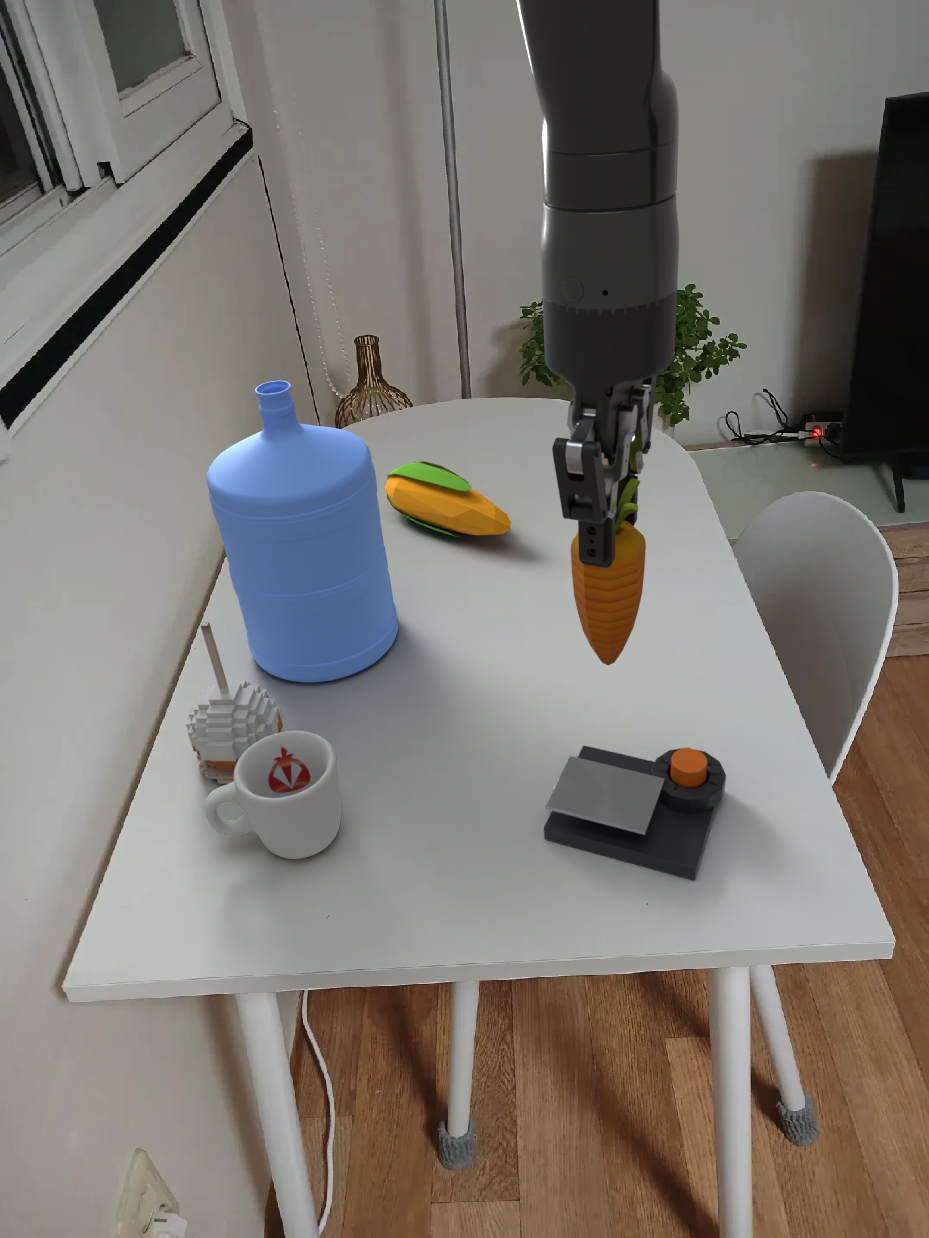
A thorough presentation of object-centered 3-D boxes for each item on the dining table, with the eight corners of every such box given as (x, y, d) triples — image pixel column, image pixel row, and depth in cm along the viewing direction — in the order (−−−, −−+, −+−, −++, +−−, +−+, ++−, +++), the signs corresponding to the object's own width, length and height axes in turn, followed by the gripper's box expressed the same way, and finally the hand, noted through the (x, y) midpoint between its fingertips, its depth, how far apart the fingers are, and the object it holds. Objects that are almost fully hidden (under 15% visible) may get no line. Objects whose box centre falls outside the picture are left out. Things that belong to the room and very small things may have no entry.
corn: (407, 440, 121) (529, 480, 109) (416, 491, 126) (535, 535, 114) (365, 466, 117) (488, 510, 106) (377, 518, 122) (495, 566, 110)
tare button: (709, 768, 77) (710, 752, 76) (701, 792, 75) (703, 776, 74) (675, 760, 78) (676, 744, 77) (666, 783, 76) (667, 767, 75)
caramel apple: (295, 728, 89) (262, 596, 81) (274, 788, 83) (237, 652, 74) (216, 728, 90) (175, 597, 82) (189, 787, 84) (142, 653, 75)
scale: (728, 783, 79) (731, 757, 77) (699, 882, 71) (702, 855, 70) (586, 750, 84) (586, 724, 82) (544, 839, 76) (542, 813, 74)
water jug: (368, 695, 92) (319, 428, 76) (225, 677, 97) (149, 420, 80) (419, 604, 104) (385, 357, 88) (289, 592, 109) (234, 353, 92)
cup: (223, 893, 74) (197, 822, 70) (217, 820, 81) (194, 751, 76) (358, 857, 76) (342, 786, 71) (342, 788, 82) (327, 719, 78)
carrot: (638, 641, 71) (643, 459, 62) (646, 684, 67) (652, 495, 58) (571, 645, 71) (566, 464, 63) (575, 687, 67) (571, 500, 59)
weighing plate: (665, 780, 76) (665, 778, 76) (645, 835, 72) (645, 832, 71) (569, 758, 79) (569, 755, 79) (545, 808, 75) (544, 806, 74)
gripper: (639, 329, 47) (634, 612, 57) (704, 248, 57) (690, 500, 67) (498, 321, 50) (516, 592, 59) (585, 245, 60) (588, 487, 70)
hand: (608, 542), depth 63 cm, fingers closed on carrot, 4 cm apart
